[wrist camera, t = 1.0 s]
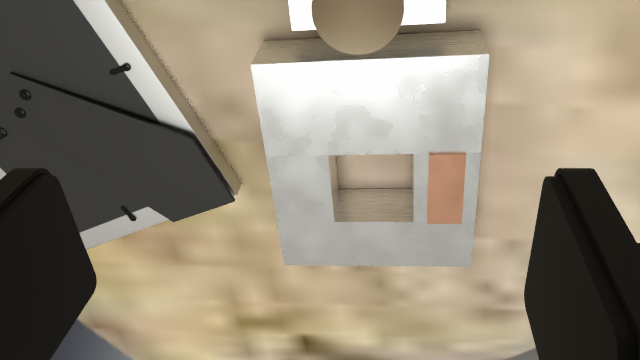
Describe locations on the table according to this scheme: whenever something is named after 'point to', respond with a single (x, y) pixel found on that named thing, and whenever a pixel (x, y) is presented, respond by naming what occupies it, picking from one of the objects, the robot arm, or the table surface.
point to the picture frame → (103, 119)
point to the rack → (374, 142)
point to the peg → (357, 23)
